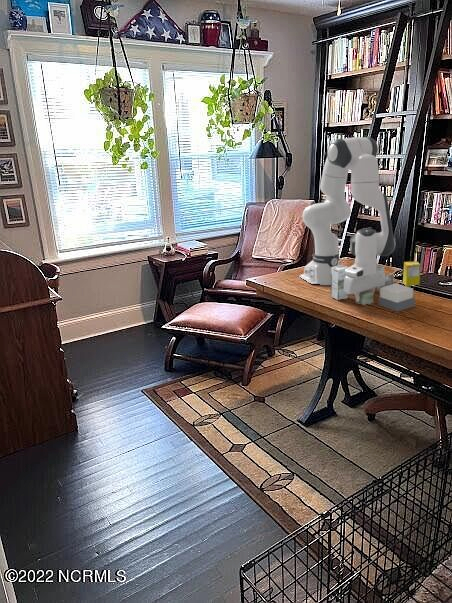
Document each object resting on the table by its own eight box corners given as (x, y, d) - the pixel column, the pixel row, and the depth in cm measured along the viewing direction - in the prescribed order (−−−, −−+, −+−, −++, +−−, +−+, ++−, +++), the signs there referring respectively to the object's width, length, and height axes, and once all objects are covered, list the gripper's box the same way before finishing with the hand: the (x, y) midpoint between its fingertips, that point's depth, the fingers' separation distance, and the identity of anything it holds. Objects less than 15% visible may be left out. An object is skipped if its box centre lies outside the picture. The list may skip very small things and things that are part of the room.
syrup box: (341, 295, 205) (342, 264, 200) (349, 299, 199) (349, 267, 194) (330, 297, 203) (330, 266, 198) (337, 301, 198) (338, 269, 193)
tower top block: (379, 296, 189) (380, 287, 188) (395, 292, 193) (395, 283, 191) (397, 302, 181) (397, 293, 180) (412, 297, 185) (413, 288, 184)
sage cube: (355, 302, 195) (356, 291, 193) (364, 300, 197) (364, 289, 195) (363, 305, 190) (364, 294, 189) (372, 303, 192) (373, 292, 191)
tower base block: (378, 305, 191) (378, 296, 189) (395, 300, 195) (396, 291, 193) (396, 312, 182) (397, 303, 181) (414, 307, 186) (415, 297, 185)
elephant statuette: (382, 297, 200) (383, 280, 197) (368, 287, 211) (369, 272, 208) (401, 294, 201) (402, 278, 198) (386, 285, 212) (388, 269, 209)
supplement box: (415, 283, 212) (417, 261, 209) (419, 287, 207) (421, 264, 203) (402, 284, 213) (403, 261, 209) (405, 288, 207) (407, 265, 204)
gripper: (378, 262, 195) (377, 292, 200) (341, 271, 187) (340, 302, 192) (389, 265, 190) (388, 296, 194) (351, 274, 181) (351, 306, 186)
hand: (364, 299), depth 193 cm, fingers closed on sage cube, 5 cm apart
